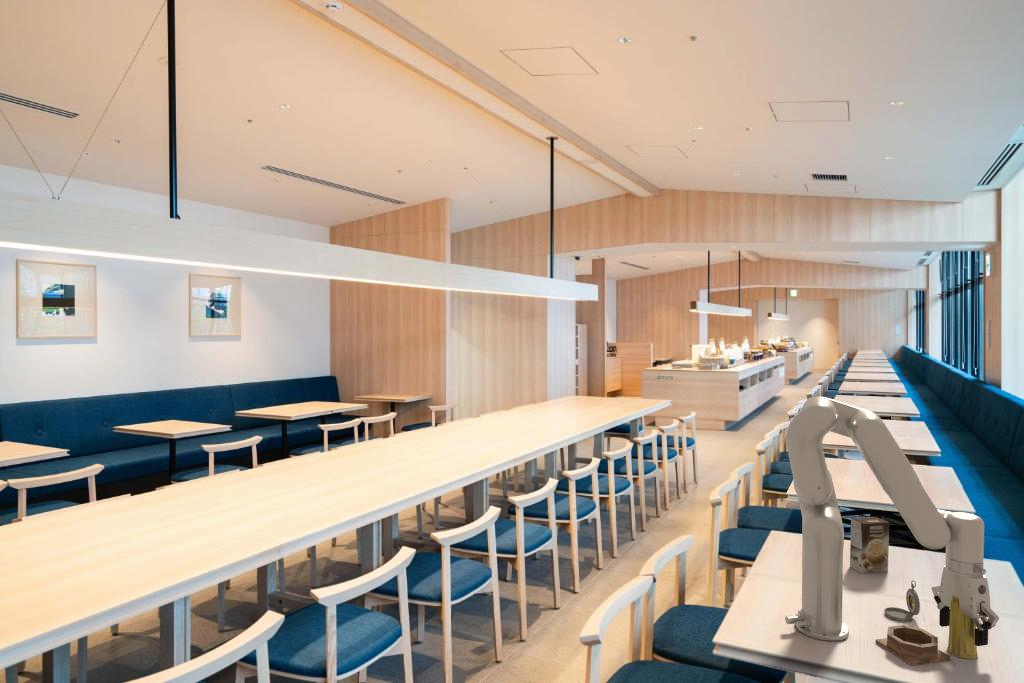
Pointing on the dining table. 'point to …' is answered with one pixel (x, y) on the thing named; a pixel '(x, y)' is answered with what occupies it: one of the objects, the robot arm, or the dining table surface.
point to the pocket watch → (911, 599)
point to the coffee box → (869, 544)
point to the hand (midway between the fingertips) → (962, 635)
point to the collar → (912, 645)
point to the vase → (961, 633)
